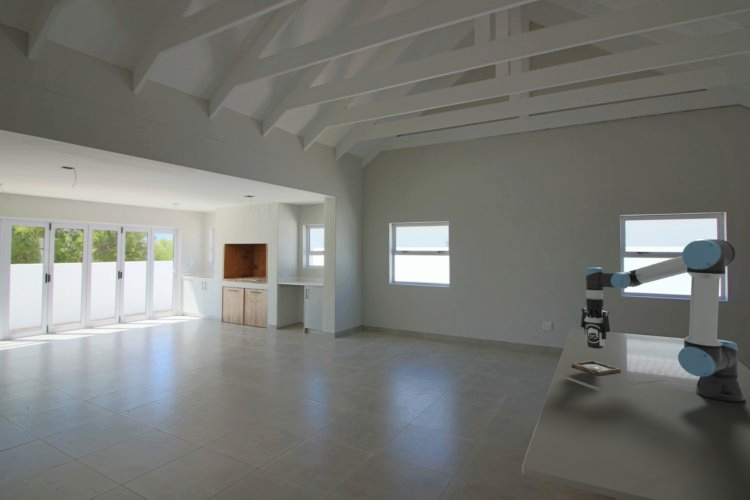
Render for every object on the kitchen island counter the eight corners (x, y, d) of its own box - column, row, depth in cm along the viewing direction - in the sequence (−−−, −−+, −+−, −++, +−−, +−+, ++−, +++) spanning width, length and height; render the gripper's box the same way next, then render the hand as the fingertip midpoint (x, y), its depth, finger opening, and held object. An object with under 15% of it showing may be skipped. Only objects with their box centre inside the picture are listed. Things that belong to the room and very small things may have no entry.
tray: (620, 374, 193) (620, 368, 193) (599, 377, 188) (599, 371, 188) (592, 365, 208) (592, 360, 208) (572, 368, 203) (571, 363, 203)
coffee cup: (610, 349, 194) (610, 318, 194) (590, 349, 194) (590, 318, 194) (599, 344, 203) (599, 315, 203) (580, 344, 203) (580, 315, 203)
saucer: (617, 371, 194) (617, 369, 194) (597, 374, 190) (597, 372, 190) (594, 364, 207) (594, 362, 207) (575, 367, 202) (575, 365, 202)
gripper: (618, 300, 190) (619, 347, 190) (583, 295, 209) (583, 339, 209) (607, 301, 188) (607, 349, 188) (572, 296, 207) (572, 340, 207)
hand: (595, 343), depth 198 cm, fingers closed on coffee cup, 7 cm apart
